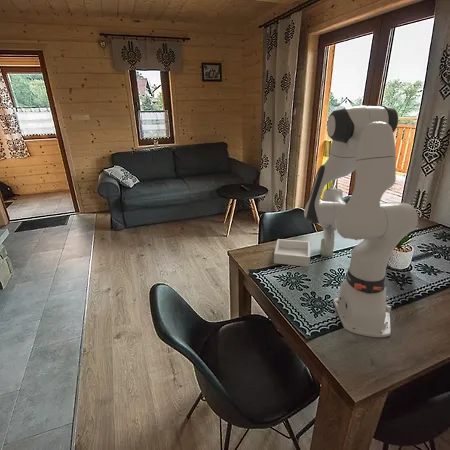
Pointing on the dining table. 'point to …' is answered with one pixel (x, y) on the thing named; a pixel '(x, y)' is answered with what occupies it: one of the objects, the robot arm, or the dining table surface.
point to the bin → (292, 252)
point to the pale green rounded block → (322, 250)
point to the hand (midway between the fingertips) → (326, 248)
